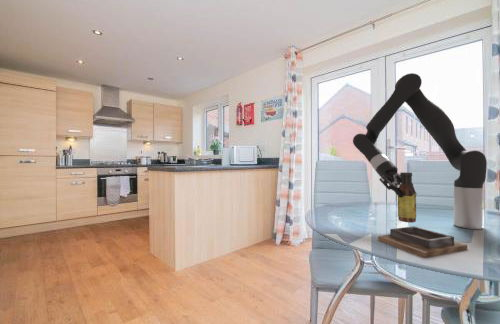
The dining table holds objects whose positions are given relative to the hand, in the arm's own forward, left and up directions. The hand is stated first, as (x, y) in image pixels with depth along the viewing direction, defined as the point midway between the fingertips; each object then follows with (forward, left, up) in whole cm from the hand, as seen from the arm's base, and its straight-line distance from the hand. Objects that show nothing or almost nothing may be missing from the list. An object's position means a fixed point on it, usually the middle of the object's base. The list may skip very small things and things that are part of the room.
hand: (408, 195), depth 95 cm
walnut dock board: (+11, +12, -14) cm, 22 cm away
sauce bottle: (0, -1, -11) cm, 11 cm away
